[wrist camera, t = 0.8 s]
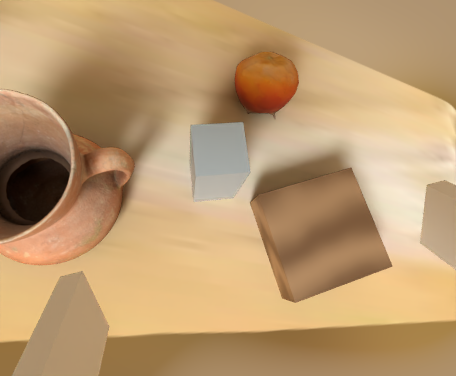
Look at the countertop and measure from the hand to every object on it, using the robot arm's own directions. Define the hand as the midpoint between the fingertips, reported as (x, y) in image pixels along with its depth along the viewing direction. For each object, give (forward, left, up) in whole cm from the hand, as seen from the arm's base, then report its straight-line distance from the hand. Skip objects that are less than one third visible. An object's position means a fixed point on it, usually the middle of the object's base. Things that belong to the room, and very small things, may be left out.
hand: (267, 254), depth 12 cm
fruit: (-20, +13, -26) cm, 35 cm away
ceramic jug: (-12, -14, -26) cm, 32 cm away
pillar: (-10, +3, -26) cm, 28 cm away
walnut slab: (0, +13, -26) cm, 29 cm away
